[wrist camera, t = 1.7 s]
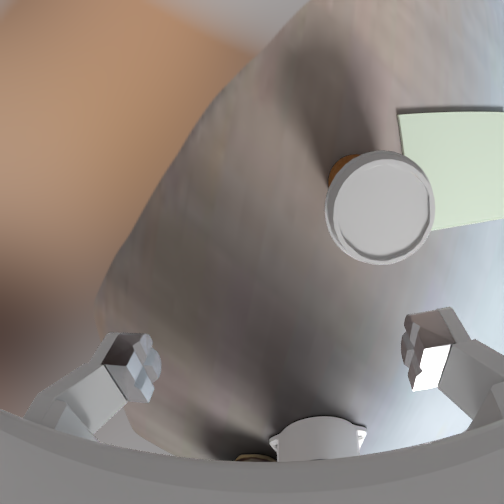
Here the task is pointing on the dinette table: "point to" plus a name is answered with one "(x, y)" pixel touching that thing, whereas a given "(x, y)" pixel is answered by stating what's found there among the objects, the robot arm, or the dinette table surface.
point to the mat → (459, 163)
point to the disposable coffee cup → (379, 206)
